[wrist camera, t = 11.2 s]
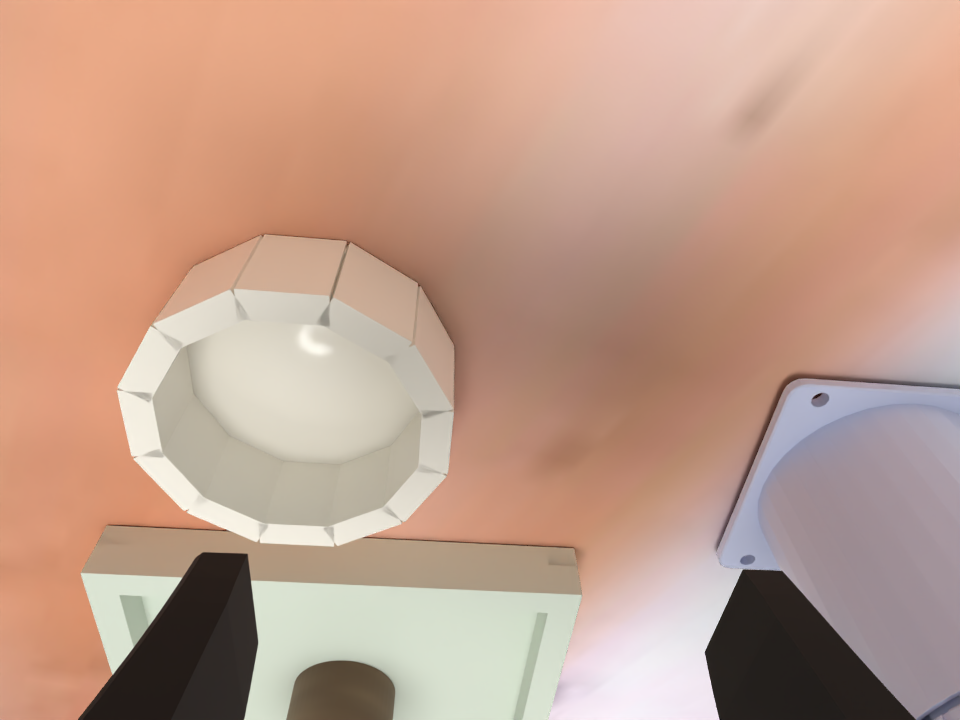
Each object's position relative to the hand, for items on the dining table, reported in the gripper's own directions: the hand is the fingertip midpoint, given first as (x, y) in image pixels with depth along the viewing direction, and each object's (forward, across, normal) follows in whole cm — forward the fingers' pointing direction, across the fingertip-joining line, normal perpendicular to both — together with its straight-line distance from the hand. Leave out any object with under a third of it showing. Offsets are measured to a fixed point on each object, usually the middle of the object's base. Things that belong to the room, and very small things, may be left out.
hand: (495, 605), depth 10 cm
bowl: (+10, +4, +3) cm, 12 cm away
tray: (+10, +3, +18) cm, 21 cm away
